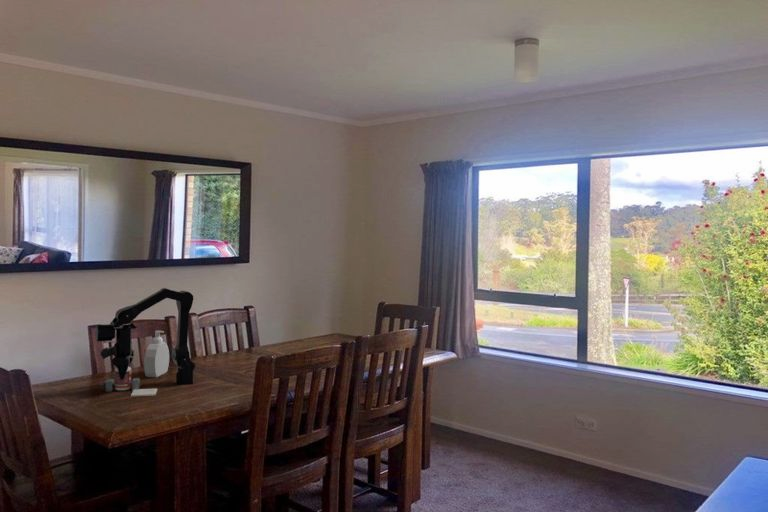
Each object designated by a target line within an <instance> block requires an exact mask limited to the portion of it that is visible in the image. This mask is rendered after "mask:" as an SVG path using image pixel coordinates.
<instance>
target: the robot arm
mask: <svg viewBox="0 0 768 512" xmlns="http://www.w3.org/2000/svg"><path fill="white" fill-rule="evenodd" d="M165 299H170V300H174V301H175V302H176V308H177V311H178V312H177V313H178V314H177V317H178V318H177V332H176V344H175V347H172V348H171V355H170V358H172V362H173V363H174V364H175V365H176V366H177V371H176V372H175V373H176V374H175V376H176V379H175V383H176V384H177V385H191V384H194V370H195V368H196V364H195V363H194V362H193V361H192V360H191V358H190V357H191V356H190V350H189V346H188V339H189V338H188V337H189V335H188V334H189V322H190V321H189V320H190V318H189V317H190V311H191V309H192V306H193V302H194V295H193V294H192V293H191V292H189V291H186V290H180V291H176V290H174V289H169V288H167V287H162V288H160V289H159V290H158V291H156V292H154V293H152V294H150V295H149V296H148V297H145V298H144V299H142V300H140V301H138V302H137V303H134V304H131V305H127V306H125V307H122V308H119V309H118V310H116V311H115V314H114V315H115V317H114V318H113V319H112V320H111V322H110V323H108V324H99V323H98V324H96V327H95V328H96V329H95V342H97V343H98V342H110V341H111V342H112V341H113V340H114V339H115V343H114V345H113V346H110V347H105V348H102V350H100V351H99V352H100V356H101V358H102V359H103V360H104V359H105V360H106V359H107V358H109V357H112V356H113V358H112V359H111V365H112V366H114V367H116V368H118V372H119V376H120V379H121V380H123V379H124V377H125V374H126V372H127V369H128V367H130V366H131V364H132V362H133V359H134V356H135V350H134V349H132V345H133V341H132V330H133V329H137V328H138V327H137V326H136V325H135V324H134V322H133V321H134V320H135V319H136V318H137V317H138V316H139V315H140V314H141V313H143V312H145V311H146V310H148V309H150V308H151V307H154V306H155V305H157V304H158V303H160V302H162V301H164V300H165ZM129 364H130V365H129Z"/></svg>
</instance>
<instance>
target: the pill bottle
mask: <svg viewBox="0 0 768 512" xmlns="http://www.w3.org/2000/svg"><path fill="white" fill-rule="evenodd" d="M129 365H130V366H131V364H129ZM131 382H132V367H128V369H127V372H126V374H125V377H124V379H123V380H121V379H120V376H119V372H118V368H117V367H116V368H115V369H114V383H115V388H114V389H115V390H116V391H127V390H131V389H132V387H131Z"/></svg>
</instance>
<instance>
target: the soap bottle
mask: <svg viewBox="0 0 768 512" xmlns="http://www.w3.org/2000/svg"><path fill="white" fill-rule="evenodd" d="M164 333H165V331H164V330H155V331H154V337H153V338H152V340H151V343H150V344H148V346H147V348H146V351H145V354H144V362H143V367H144V374H145V377H146V378H159V377H160V376H162V375H164V374H165V373H167V372H168V370H169V364H170V350H169V346H168V345H167V343H166V342H165V341H164V340H163V338H162V337H161V334H164Z"/></svg>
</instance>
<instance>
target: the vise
mask: <svg viewBox="0 0 768 512" xmlns="http://www.w3.org/2000/svg"><path fill="white" fill-rule="evenodd" d="M140 379H141V378H140V377H133V379H131V391H132V392H133V390H134V389H141V380H140ZM98 388H105V392H106V393H107V392H108V393H109V392H113V391H114V389H115V378H108V379H107V380H106V381H105V382H99V383H98Z"/></svg>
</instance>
